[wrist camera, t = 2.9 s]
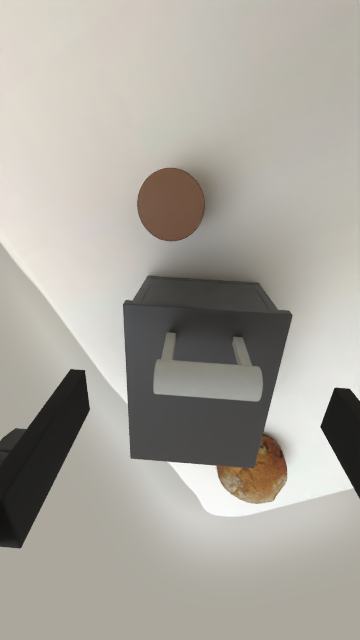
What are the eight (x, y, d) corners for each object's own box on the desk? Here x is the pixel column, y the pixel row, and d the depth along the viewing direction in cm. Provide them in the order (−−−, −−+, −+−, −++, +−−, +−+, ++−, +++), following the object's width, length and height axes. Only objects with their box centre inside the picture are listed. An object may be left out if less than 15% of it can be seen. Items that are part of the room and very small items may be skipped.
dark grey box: (147, 275, 29) (126, 310, 20) (258, 282, 29) (286, 321, 20) (148, 388, 36) (132, 451, 27) (238, 394, 35) (252, 461, 27)
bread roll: (211, 445, 45) (211, 502, 40) (223, 425, 37) (224, 493, 32) (270, 452, 45) (276, 510, 39) (294, 433, 37) (306, 503, 32)
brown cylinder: (148, 178, 25) (132, 171, 19) (200, 172, 25) (202, 163, 18) (155, 233, 27) (142, 243, 21) (203, 228, 27) (206, 238, 20)
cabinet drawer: (125, 299, 20) (93, 346, 14) (289, 310, 19) (332, 362, 13) (132, 451, 27) (113, 527, 21) (252, 461, 26) (269, 541, 20)
